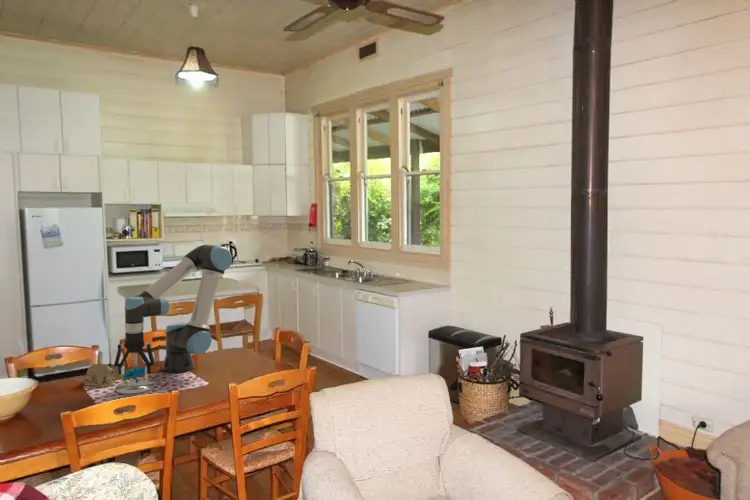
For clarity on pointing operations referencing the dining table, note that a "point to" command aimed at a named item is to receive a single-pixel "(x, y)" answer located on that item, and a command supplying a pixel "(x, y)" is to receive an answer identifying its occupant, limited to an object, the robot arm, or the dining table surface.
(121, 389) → the hub plate
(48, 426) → the dining table surface
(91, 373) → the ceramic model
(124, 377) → the gear
